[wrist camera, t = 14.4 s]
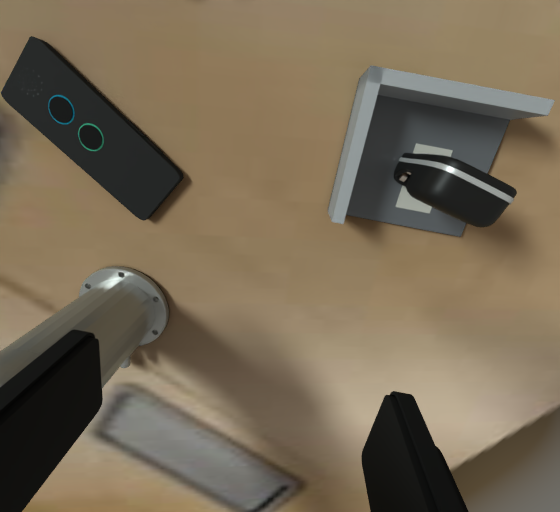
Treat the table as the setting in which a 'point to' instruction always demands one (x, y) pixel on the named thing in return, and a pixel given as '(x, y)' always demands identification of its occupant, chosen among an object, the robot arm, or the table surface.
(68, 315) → the robot arm
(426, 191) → the battery charger
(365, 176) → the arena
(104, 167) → the smart home device
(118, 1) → the table surface
